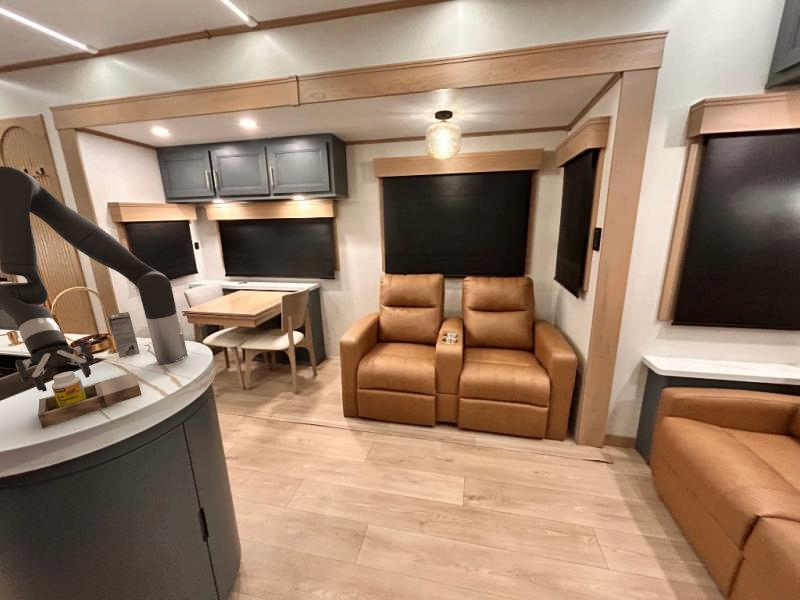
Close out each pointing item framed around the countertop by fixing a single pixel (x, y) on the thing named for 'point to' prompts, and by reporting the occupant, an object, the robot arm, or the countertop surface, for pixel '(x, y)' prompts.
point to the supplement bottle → (68, 389)
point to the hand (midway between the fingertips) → (67, 382)
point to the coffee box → (123, 334)
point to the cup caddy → (90, 399)
